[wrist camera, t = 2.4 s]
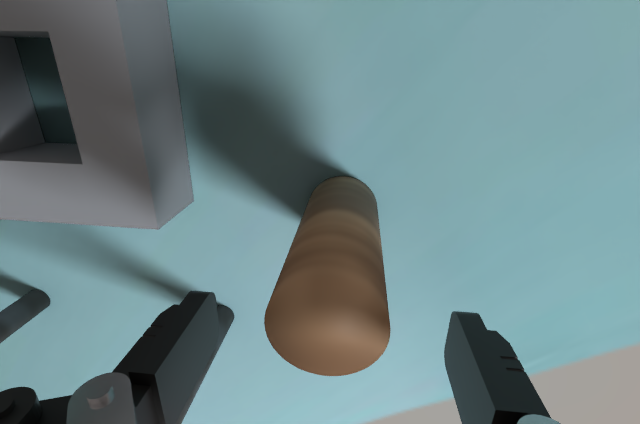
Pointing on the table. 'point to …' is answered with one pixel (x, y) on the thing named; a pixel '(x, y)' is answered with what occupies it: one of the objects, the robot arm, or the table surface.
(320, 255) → the peg
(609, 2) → the table surface
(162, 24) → the socket
